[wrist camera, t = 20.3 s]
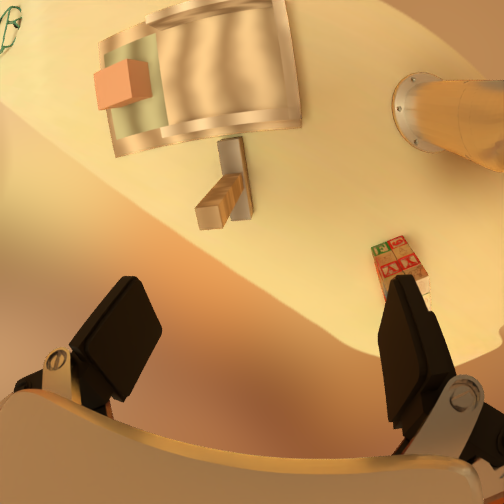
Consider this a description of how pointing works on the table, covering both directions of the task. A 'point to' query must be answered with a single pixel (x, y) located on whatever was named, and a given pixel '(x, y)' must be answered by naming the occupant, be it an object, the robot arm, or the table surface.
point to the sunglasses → (9, 23)
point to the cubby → (206, 73)
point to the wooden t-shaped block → (227, 189)
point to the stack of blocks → (400, 266)
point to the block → (122, 84)
